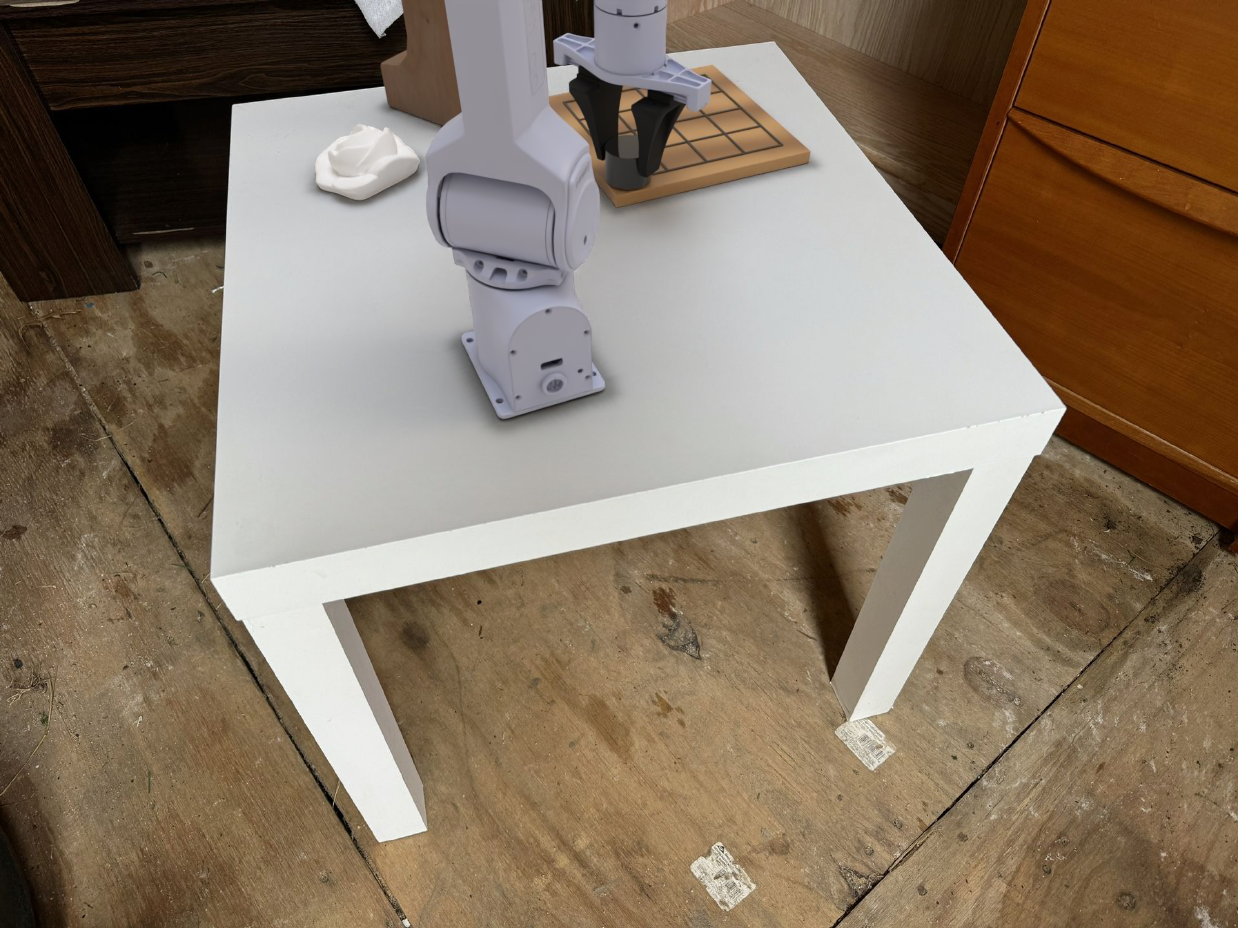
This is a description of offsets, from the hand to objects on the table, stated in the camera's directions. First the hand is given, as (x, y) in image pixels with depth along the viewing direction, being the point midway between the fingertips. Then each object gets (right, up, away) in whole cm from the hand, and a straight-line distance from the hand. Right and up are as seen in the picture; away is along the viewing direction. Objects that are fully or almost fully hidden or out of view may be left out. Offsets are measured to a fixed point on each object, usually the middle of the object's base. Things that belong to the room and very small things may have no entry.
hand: (628, 164), depth 78 cm
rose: (-24, 0, +4) cm, 24 cm away
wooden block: (-20, +10, +12) cm, 25 cm away
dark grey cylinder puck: (0, -1, +1) cm, 1 cm away
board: (+4, +6, +9) cm, 12 cm away
